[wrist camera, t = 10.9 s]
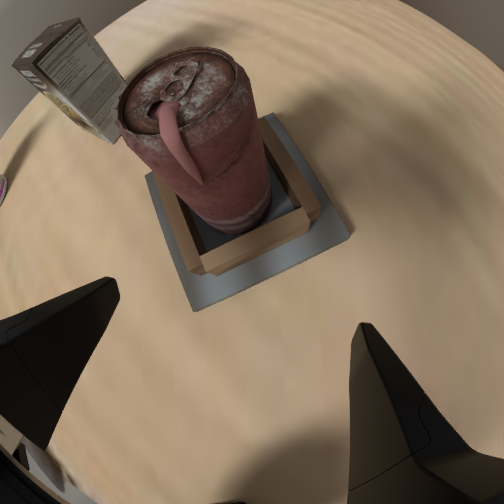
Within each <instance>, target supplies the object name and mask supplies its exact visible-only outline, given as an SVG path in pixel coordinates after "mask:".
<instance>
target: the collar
mask: <svg viewBox="0 0 504 504" xmlns="http://www.w3.org/2000/svg"><path fill="white" fill-rule="evenodd" d="M258 122H259V126H260V131H261V136H262V141H263V146H264V152H265V157H266V162H267V167H268V172H269V178H270V183H271V189H272V204H271V208H270V211H269V213H268V215H267V216H266V218H265V219H264V220H263V222H262V223H261V224H259V225H258V226H257V227H255V228H254V229H253V230H250V231H248V232H245V233H242V234H230V235H229V234H225V233H221V232H218V231H216V230H215V229H213V228H212V227H210V226H209V225H208V224H207V223H206V222H205V221H204V220H203V219H202V218H201V217H200V216H199V215H198V214H197V213H196V212H194V211H193V210H192V209H191V208H190V207H189V206H188V205H187V204H186V203H185V202H184V201H183V200H182V199H181V198H180V197H179V196H178V195H177V194H176V193H175V192H174V191H173V190H172V189H171V188H170V187H169V186H168V185H167V184H166V183H165V182H164V181H163V180H162V179H161V178H160V177H159V176H158V175H157V174H156V173H155V172H154V171H152V172H150V173H148V174H147V175H145V178H146V182H147V185H148V188H149V192H150V195H151V198H152V201H153V204H154V207H155V210H156V214H157V217H158V220H159V222H160V225H161V228H162V231H163V234H164V237H165V240H166V243H167V245H168V248H169V251H170V254H171V257H172V259H173V262H174V265H175V267H176V270H177V272H178V275H179V278H180V280H181V283H182V285H183V288H184V290H185V293H186V295H187V298H188V300H189V303H190V305H191V308H192V310H193V312H198V311H200V310H202V309H204V308H206V307H209V306H211V305H213V304H215V303H217V302H220V301H222V300H224V299H226V298H228V297H231V296H233V295H235V294H237V293H239V292H241V291H243V290H246V289H248V288H250V287H252V286H254V285H256V284H258V283H260V282H263V281H265V280H267V279H269V278H271V277H273V276H275V275H277V274H279V273H281V272H283V271H285V270H288V269H290V268H292V267H294V266H296V265H298V264H300V263H302V262H304V261H306V260H308V259H310V258H312V257H314V256H316V255H318V254H320V253H322V252H324V251H326V250H328V249H330V248H332V247H334V246H336V245H338V244H340V243H342V242H344V241H346V240H348V239H349V238H350V234H349V233H348V231H347V229H346V227H345V225H344V223H343V222H342V220H341V218H340V216H339V214H338V213H337V211H336V209H335V207H334V206H333V204H332V202H331V201H330V199H329V197H328V195H327V194H326V192H325V190H324V189H323V187H322V185H321V184H320V182H319V181H318V179H317V177H316V176H315V174H314V172H313V171H312V169H311V168H310V166H309V165H308V163H307V161H306V160H305V158H304V157H303V155H302V154H301V152H300V151H299V149H298V148H297V146H296V145H295V143H294V142H293V140H292V139H291V137H290V136H289V134H288V133H287V131H286V130H285V129H284V127H283V126H282V124H281V123H280V121H279V120H278V119H277V117H276V116H275V114H274V113H271V114H268V115H266V116H263V117H261V118H258Z"/></svg>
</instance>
